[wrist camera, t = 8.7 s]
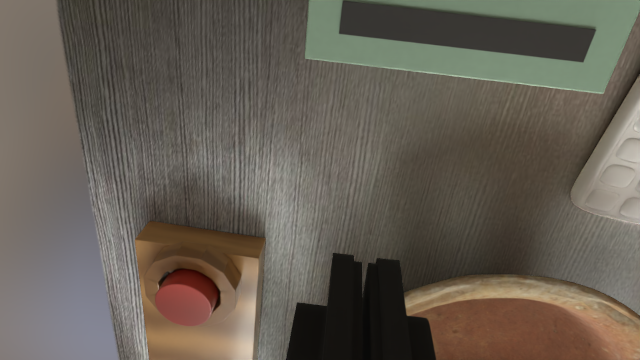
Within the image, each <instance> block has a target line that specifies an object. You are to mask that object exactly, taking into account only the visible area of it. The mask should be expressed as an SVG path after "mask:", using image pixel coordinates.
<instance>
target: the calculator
mask: <svg viewBox="0 0 640 360" xmlns="http://www.w3.org/2000/svg"><path fill="white" fill-rule="evenodd" d="M570 195H571V200H572V202H573V203H574V204H575V205H576V206H577V207H578V208H579V209H581V210H583V211H586V212H589V213H592V214H595V215H599V216H604V217H608V218H612V219H616V220H620V221H625V222H629V223H633V224H637V225H640V74H639V76H638V78H637V79H636V81H635V83H634V84H633V86H632V88H631V89H630V91H629V93H628V94H627V96H626V98H625V99H624V101H623V103H622V104H621V106H620V108H619V109H618V111H617V113H616V114H615V116H614V118H613V119H612V121H611V123H610V124H609V126H608V128H607V129H606V131H605V133H604V134H603V136H602V138H601V139H600V141H599V143H598V144H597V146H596V148H595V149H594V151H593V153H592V154H591V156H590V158H589V159H588V161H587V163H586V164H585V166H584V168H583V169H582V171H581V173H580V174H579V176H578V178H577V179H576V181H575V183H574V185H573V187H572V190H571V193H570Z"/></svg>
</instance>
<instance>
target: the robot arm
mask: <svg viewBox="0 0 640 360" xmlns="http://www.w3.org/2000/svg"><path fill="white" fill-rule="evenodd" d="M286 360H436V355H435V350H434V345H433V339H432V334H431V329H430V324H429V321H428V319H427V318H423V317H415V316H407V314H406V306H405V298H404V290H403V283H402V275H401V267H400V261H399V260H390V259H381V258H377V260H376V264H374V263H368V267H367V273H366V279H365V285H364V291H363V297H362V262H356V261H354V255H346V254H337V253H333V258H332V267H331V276H330V285H329V294H328V303H327V306H323V305H315V304H306V303H298V302H297V305H296V310H295V315H294V320H293V325H292V331H291V336H290V341H289V347H288V352H287V357H286Z"/></svg>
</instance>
